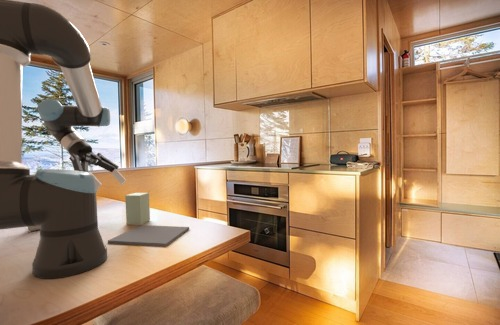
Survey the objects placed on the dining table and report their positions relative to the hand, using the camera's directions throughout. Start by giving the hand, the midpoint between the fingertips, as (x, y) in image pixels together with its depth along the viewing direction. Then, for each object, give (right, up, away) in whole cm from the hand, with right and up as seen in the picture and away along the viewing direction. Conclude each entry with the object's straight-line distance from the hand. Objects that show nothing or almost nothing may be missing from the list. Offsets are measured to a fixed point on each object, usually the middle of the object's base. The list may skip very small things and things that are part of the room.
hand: (112, 184), depth 102 cm
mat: (+22, -15, -18) cm, 32 cm away
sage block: (+11, -14, -1) cm, 18 cm away
